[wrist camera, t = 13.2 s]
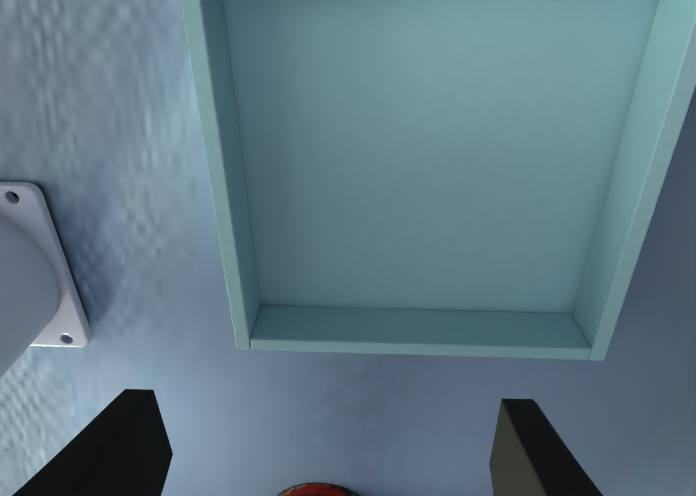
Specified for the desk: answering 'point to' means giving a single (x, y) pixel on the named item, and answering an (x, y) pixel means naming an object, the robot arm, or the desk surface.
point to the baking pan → (436, 167)
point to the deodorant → (317, 490)
